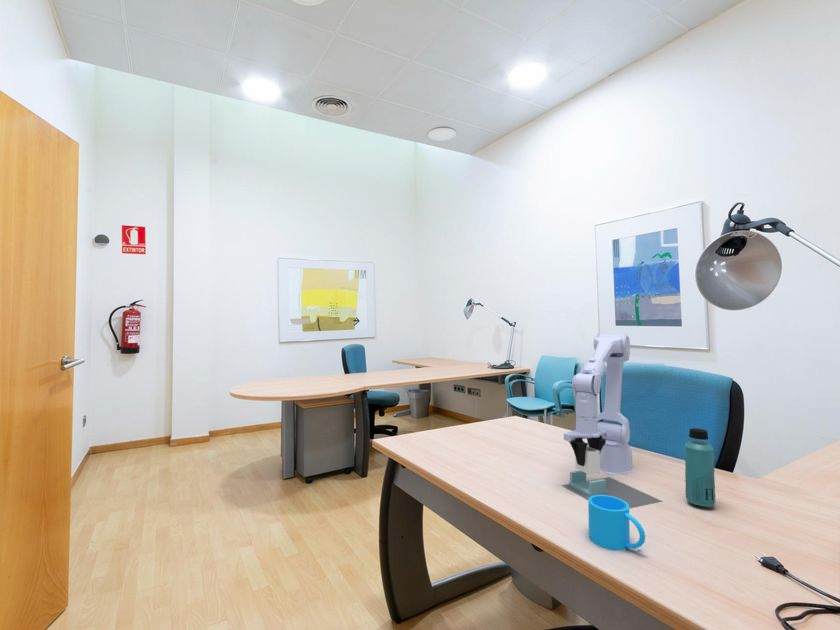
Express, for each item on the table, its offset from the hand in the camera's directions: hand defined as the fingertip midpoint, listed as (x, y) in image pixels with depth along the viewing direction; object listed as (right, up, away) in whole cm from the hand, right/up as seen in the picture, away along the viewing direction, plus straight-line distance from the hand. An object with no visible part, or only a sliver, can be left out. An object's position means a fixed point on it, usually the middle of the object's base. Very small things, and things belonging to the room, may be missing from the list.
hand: (587, 464), depth 115 cm
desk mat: (+5, -8, -3) cm, 10 cm away
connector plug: (0, -2, 0) cm, 2 cm away
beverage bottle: (+25, -8, -10) cm, 28 cm away
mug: (-5, -7, -27) cm, 29 cm away
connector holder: (0, -7, 0) cm, 7 cm away
